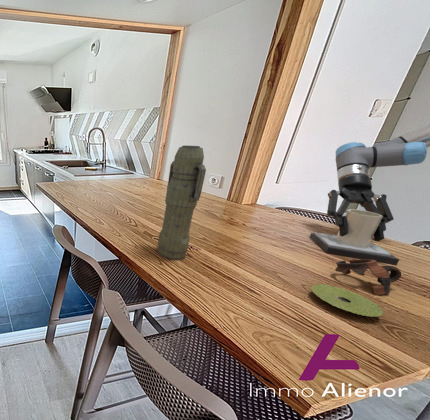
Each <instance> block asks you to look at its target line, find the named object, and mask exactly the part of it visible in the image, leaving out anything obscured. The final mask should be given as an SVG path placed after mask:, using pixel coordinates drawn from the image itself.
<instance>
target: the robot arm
mask: <svg viewBox="0 0 430 420" xmlns="http://www.w3.org/2000/svg"><path fill="white" fill-rule="evenodd" d="M429 148H430V124H427V125H424V126H422V127H420V128H417V129H414V130H412V131H408V132H406V133H405V134H402V135H400V136H397V137H394V138H392V139H388V140H386V141H381V142H378V143H374V144H373V145H371V146H366V145H365V143H363V142H357V141H352V142H347V143H344V144H342V145H340V146H339V147H337V148H336V150H335V165H336V174H337V176H336V177H337V184H338V185H337V186H338V190H336V189H332V190H330V191H329V192H327V197H328V204H327V210H326V215H327V216H328V217H332V219H333V220H334V223H335V226H336V227H338V232H339V231H340V236H345V235H346V234H348V226H347V217H346V216H345V215H344V214H345V212H347V210H348V208H349V206H350V204H357V205H358V204H359V206H360V207H362V208H363V209H364V211H369V212H374V213H377V214H380V215H382V216H383V217H382V219H381V221H380V223H379V225H378V227H377V229H376V231H375V233H374V236H373V240H374V242H380V241H382V240H384V239H385V234H384V232H386V230H387V225H386V224H388V223H390V222H392V221H394V215H393V214H392V211H391V209H390V207H389V204H388V202H387V194H384V193H382V194H375V192H373V189H372V188H373V184H372V178H371V174H370V168H381V167H397V166H399V167H400V166H410V165H418V164H422V163H423V162H424V161H425V160H426V158H427V154H428V149H429ZM339 197H341V198H342V199H343V200H342V201H341V203H340V205H339V207H338V209H337V205H338V198H339Z"/></svg>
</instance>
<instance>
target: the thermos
mask: <svg viewBox="0 0 430 420" xmlns="http://www.w3.org/2000/svg"><path fill="white" fill-rule="evenodd" d="M204 158H205V155H204V148H203V147H201V146H199V145H182V146H179V147H178V149H177V151H176V153H175V155H174V159H173V161H172V162H171V163H170V166H169V173H168V179H167V180H168V181H167V187H166V193H165V200H164V202H165V209H164V216H163V221H162V228H161V230H160V232H159V235H158V240H157V250H156V252H157V254H159V256H161V257H163V258H165V259H169V260H173V261H181V260H184V259H186V254H187V252H188V249H189V243H190V240H191V239H190V229H191V224H192V220H193V216H194V209H195V208H196V207H197V204H198V202H199V201H200V198H201V195H202V190H203V186H204V183H205V177H206V171H207V169H206V166H205V164H204V160H205V159H204Z"/></svg>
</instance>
